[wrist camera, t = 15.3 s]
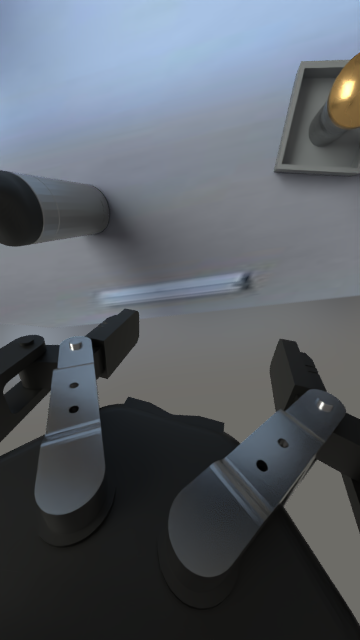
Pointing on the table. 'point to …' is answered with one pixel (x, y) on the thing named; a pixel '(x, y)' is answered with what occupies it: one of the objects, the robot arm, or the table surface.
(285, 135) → the tray
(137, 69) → the table surface
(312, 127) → the pin
